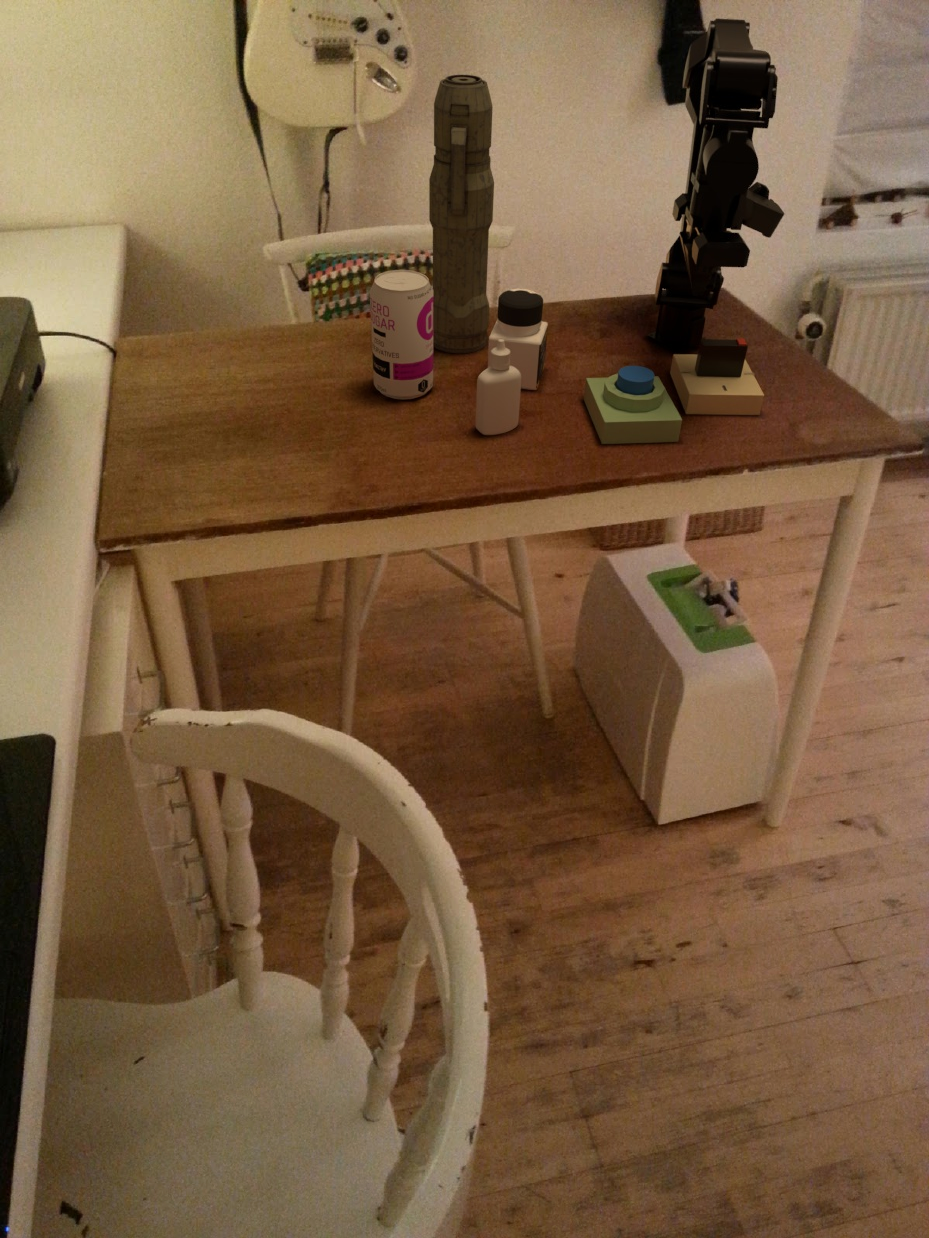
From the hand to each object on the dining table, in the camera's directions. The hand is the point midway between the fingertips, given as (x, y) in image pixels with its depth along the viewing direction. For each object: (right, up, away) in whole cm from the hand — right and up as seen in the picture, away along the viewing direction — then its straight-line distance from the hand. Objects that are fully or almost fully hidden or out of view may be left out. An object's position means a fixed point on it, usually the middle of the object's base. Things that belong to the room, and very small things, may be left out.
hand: (696, 295), depth 126 cm
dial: (+4, -9, +4) cm, 11 cm away
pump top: (-9, -13, -3) cm, 16 cm away
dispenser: (-9, -17, 0) cm, 19 cm away
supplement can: (-39, -11, +6) cm, 41 cm away
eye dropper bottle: (-27, -18, -2) cm, 32 cm away
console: (+4, -12, +6) cm, 14 cm away
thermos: (-32, -1, +17) cm, 36 cm away
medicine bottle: (-24, -9, +9) cm, 27 cm away
